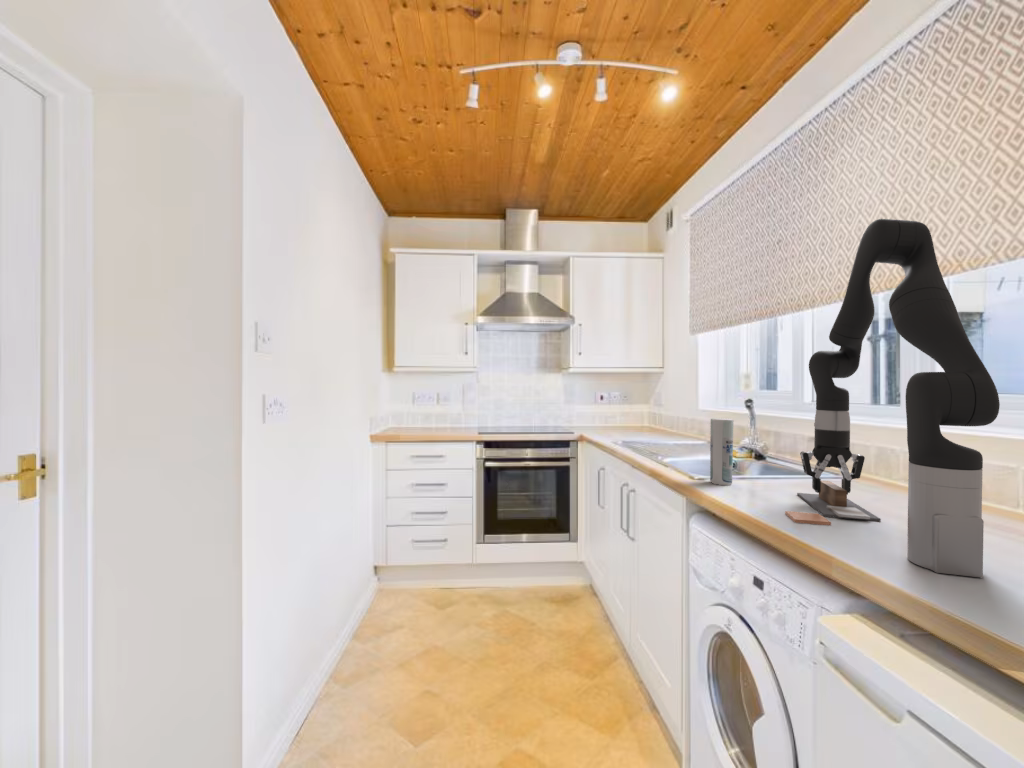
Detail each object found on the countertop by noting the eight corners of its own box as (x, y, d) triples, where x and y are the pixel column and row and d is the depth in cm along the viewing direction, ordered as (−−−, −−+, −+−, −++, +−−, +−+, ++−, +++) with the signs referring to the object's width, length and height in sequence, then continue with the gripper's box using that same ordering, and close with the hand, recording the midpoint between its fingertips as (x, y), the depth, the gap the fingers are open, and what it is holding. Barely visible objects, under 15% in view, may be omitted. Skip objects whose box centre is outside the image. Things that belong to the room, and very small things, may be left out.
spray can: (715, 480, 147) (715, 417, 147) (736, 483, 142) (737, 419, 142) (706, 482, 142) (706, 418, 142) (727, 486, 138) (728, 420, 138)
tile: (818, 518, 107) (830, 527, 101) (785, 516, 109) (795, 524, 102) (818, 513, 107) (830, 522, 101) (785, 511, 109) (795, 519, 102)
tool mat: (880, 521, 104) (880, 518, 104) (824, 516, 107) (824, 514, 107) (843, 498, 125) (843, 496, 125) (797, 494, 128) (797, 492, 128)
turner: (810, 496, 124) (811, 479, 124) (836, 498, 122) (836, 481, 122) (839, 516, 105) (839, 497, 105) (870, 519, 103) (870, 499, 103)
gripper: (804, 428, 117) (803, 494, 117) (871, 430, 112) (870, 499, 112) (796, 425, 124) (795, 487, 124) (858, 427, 120) (858, 492, 120)
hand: (831, 492), depth 118 cm, fingers open, 5 cm apart
